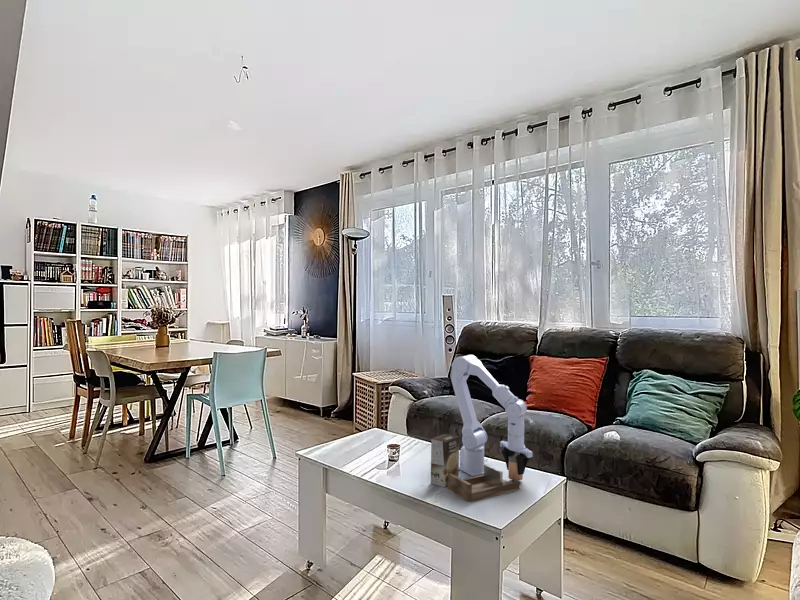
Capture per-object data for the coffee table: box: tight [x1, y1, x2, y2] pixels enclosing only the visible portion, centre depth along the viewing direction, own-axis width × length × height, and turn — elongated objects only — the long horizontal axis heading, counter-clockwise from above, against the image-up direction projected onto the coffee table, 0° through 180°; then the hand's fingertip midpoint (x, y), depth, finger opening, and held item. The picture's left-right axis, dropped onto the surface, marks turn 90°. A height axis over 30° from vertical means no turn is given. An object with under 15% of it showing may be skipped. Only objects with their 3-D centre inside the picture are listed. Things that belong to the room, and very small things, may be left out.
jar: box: [508, 454, 524, 481], centre depth 177 cm, size 5×5×8 cm
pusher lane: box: [447, 473, 521, 503], centre depth 170 cm, size 12×22×6 cm, turn 120°
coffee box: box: [430, 433, 460, 488], centre depth 176 cm, size 9×6×16 cm
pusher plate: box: [484, 463, 504, 486], centre depth 172 cm, size 8×1×6 cm, turn 30°
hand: (515, 471), depth 177 cm, fingers closed on jar, 5 cm apart
